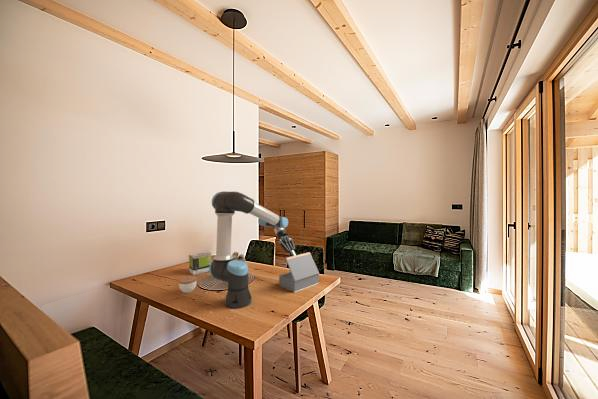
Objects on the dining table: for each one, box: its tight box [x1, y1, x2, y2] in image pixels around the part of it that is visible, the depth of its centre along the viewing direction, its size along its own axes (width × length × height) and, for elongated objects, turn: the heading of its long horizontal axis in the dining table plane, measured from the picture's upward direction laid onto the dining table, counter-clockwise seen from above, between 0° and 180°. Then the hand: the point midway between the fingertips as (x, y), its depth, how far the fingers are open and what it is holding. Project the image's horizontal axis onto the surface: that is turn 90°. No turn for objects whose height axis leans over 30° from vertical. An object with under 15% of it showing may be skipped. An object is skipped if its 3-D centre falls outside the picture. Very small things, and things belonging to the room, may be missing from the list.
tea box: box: [188, 250, 213, 276], centre depth 203 cm, size 15×10×15 cm
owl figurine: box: [231, 251, 246, 262], centre depth 199 cm, size 18×12×17 cm, turn 151°
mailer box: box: [278, 271, 320, 293], centre depth 173 cm, size 22×16×7 cm
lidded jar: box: [178, 276, 197, 294], centre depth 164 cm, size 11×11×9 cm
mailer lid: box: [284, 251, 320, 281], centre depth 170 cm, size 22×16×1 cm
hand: (295, 259), depth 176 cm, fingers closed
